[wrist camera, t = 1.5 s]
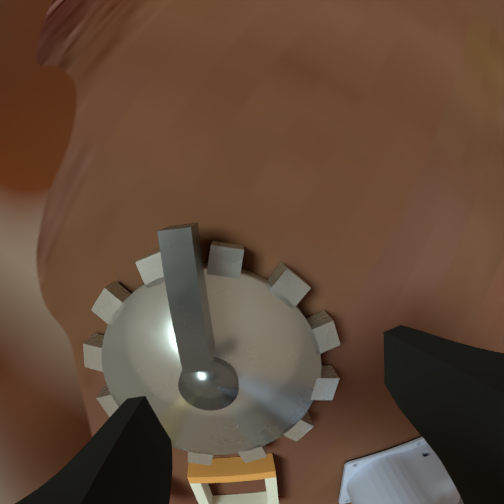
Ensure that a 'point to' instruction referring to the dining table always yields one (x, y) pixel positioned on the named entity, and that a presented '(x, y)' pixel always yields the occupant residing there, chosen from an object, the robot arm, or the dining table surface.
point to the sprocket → (213, 349)
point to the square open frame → (234, 480)
